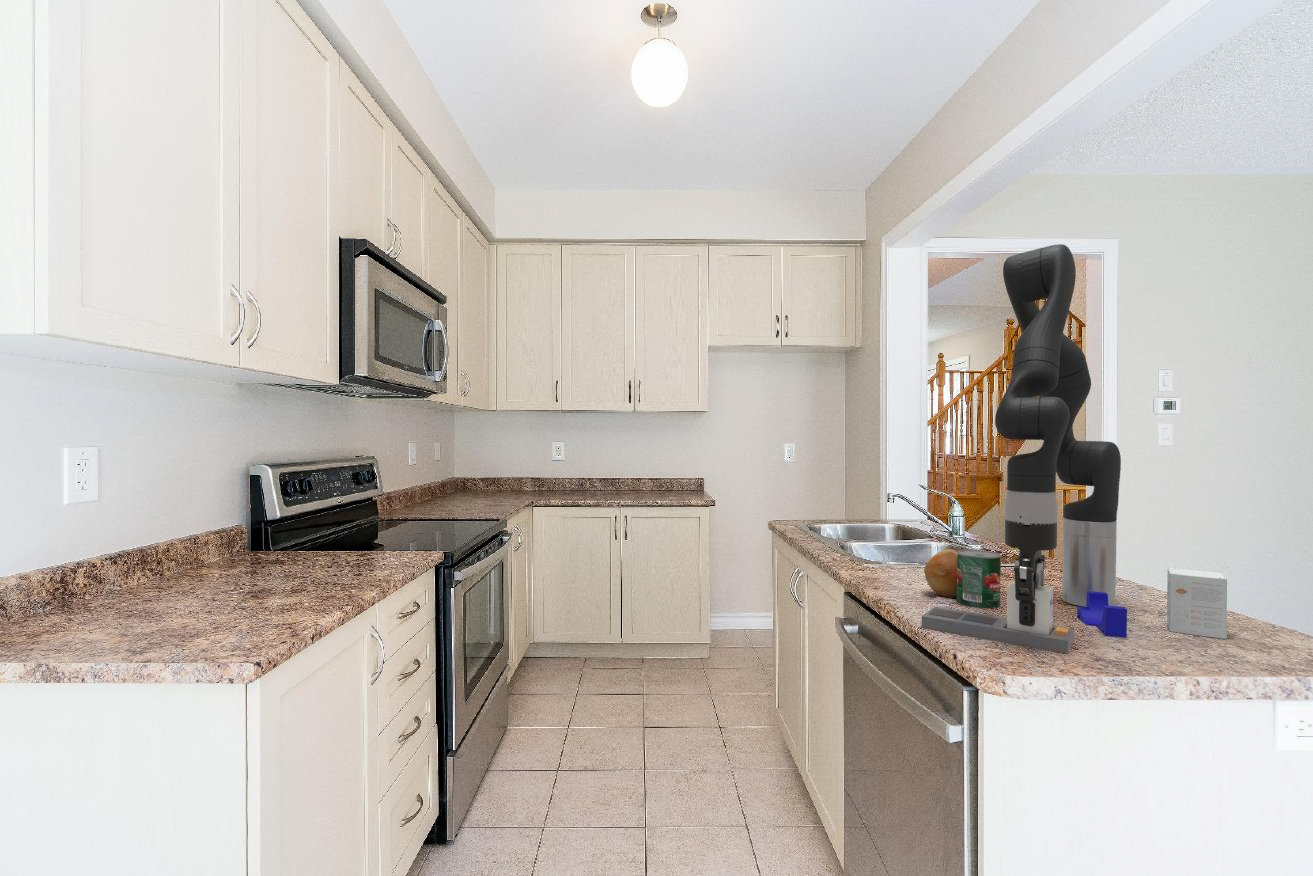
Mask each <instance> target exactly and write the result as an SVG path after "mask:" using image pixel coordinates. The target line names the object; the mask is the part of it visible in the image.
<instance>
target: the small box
mask: <svg viewBox="0 0 1313 876" xmlns="http://www.w3.org/2000/svg"><path fill="white" fill-rule="evenodd" d="M1166 577H1167V581H1166V582H1167V584H1166V585H1167V587H1166V588H1167V591H1166V596H1167V597H1166V616H1167V617H1166V622H1167V623H1166V624H1167V628H1168V631H1169V632H1171V633H1176V634H1177V633H1178V634H1184V635H1186V634H1187V635H1193V636H1201V637H1207V638H1215V639H1223V640H1227V638H1228V628H1227V627H1228V626H1227V625H1228V623H1227V622H1228V617H1227V616H1228V614H1227V613H1228V580H1227V578H1226V576H1225V575H1224V573H1222V572H1215V571H1207V570H1206V571H1205V570H1204V571H1203V570H1194V569H1193V570H1192V569H1185V568H1184V569H1181V568H1171V567H1168V568H1167V576H1166Z"/></svg>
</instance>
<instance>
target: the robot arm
mask: <svg viewBox="0 0 1313 876" xmlns="http://www.w3.org/2000/svg"><path fill="white" fill-rule="evenodd" d="M1076 270H1077V269H1076V263H1075V259H1074V256H1073V253H1072V251H1071V249H1070V248H1069V247H1068V246H1067V245H1065V244H1062V243H1059V244H1052V245H1048V246H1044V247H1040V248H1035V249H1031V250H1028V251H1024V252H1021V253H1017V254H1014V255H1010V256H1008V257H1007V258H1006V259H1005V260H1004V262H1003V267H1002V277H1003V282H1004V287H1005V289H1006V293H1007V295H1008V300H1009V302H1010V304H1011V307H1012V309H1013V311H1014V312H1013V313H1014V314H1015V318H1016V320H1017V322H1018V325H1019V328H1020V331H1021V335H1020V336H1019V337H1018V339H1017V340H1016V343H1015V347H1014V350H1013V356H1012V366H1011V377H1010V380H1009V383H1008V386H1007V388H1006V390H1005V393H1004V395H1003V396H1002V398H1001V401H1000V403H999V404H998V407H997V410H996V413H995V418H994V425H995V429H996V430H997V433H998V434H999V436H1001V437H1002V438H1004V439H1007V440H1012V441H1014V440H1015V441H1017V440H1018V441H1019V440H1020V441H1021V440H1023V441H1025V440H1026V441H1027V440H1028V441H1030V440H1031V441H1040V440H1041V441H1043V443H1042V445H1041V447H1039V449H1037V450H1035V451H1033V452H1027V453H1022V454H1021V453H1020V454H1016V455H1012V456H1010V457H1009V459H1008V460H1007V465H1006V471H1007V472H1006V475H1007V477H1006V480H1007V481H1006V484H1007V485H1006V495H1005V496H1006V497H1005V504H1004V505H1005V506H1004V517H1005V518H1004V543H1005V545H1006V546H1008V547H1009V548H1014V549H1018V550H1019V552H1018V553H1019V554H1018V556H1017V558H1015V559H1014V567H1013V571H1014V572H1013V573H1014V582H1015V592H1016V594H1015V598H1016V600H1018V601H1019V623H1020V624H1021V625H1025V626H1031V627H1032V626H1034V625H1035V603H1036V600H1037V599H1036V590H1038V589H1039V588H1040V586H1045V584H1044V582H1045V578H1046V577H1045V569H1046V565H1047V562H1046V560H1047V559H1046V556H1045V555H1044V554H1042V552H1043V551H1046V552H1047V551H1052V550H1055V549H1056V548H1057V547H1058V502H1057V501H1058V500H1057V494H1056V493H1057V492H1056V491H1057V490H1056V489H1057V486H1056V485H1057V482H1056V481H1057V480H1056V479H1057V477H1058V479H1059V481H1061V482H1062V483H1064V484H1066V485H1070V486H1071V485H1072V486H1085V487H1093V491H1092V493H1091V495H1089V496H1087V497H1086V498H1084V499H1081V500H1077V501H1073V502H1068V503H1066V504H1065V505H1063V512H1062V514H1063V515H1062V517H1063V521H1062V525H1063V527H1062V529H1063V530H1062V531H1063V533H1062V538H1063V539H1062V581H1061V583H1062V585H1061V586H1062V587H1061V589H1062V590H1061V591H1062V592H1061V594H1062V595H1061V596H1062V597H1061V599H1062V601H1063V602H1065V603H1068V604H1071V605H1075V606H1077V607H1086V603H1087V591H1092V592H1106V593H1107V594H1108V605H1109V606H1116V595H1117V594H1116V591H1117V590H1116V588H1117V586H1116V585H1117V538H1118V537H1117V536H1118V535H1117V533H1118V532H1117V527H1118V526H1117V524H1118V523H1117V519H1118V518H1117V517H1118V515H1117V514H1118V508H1119V497H1120V496H1119V493H1120V480H1121V470H1122V469H1121V467H1122V460H1121V459H1122V457H1121V452H1120V448H1119V447H1118V445H1117V444H1116V443H1115V442H1112V441H1103V440H1102V441H1101V440H1100V441H1099V440H1098V441H1097V440H1077V439H1076V438H1075V435H1074V422H1075V420H1076V418H1077V415H1078V414H1079V412H1080V410H1081V409H1082V407H1083V405H1084V403H1085V402H1086V399H1087V398H1088V396H1089V395H1090V391H1091V387H1092V380H1091V376H1090V375H1091V374H1090V370H1089V367H1088V362H1087V360H1086V359H1087V358H1086V355H1085V354H1084V352H1083V349H1081V348H1080V346H1079V345H1078V344H1077V343H1075V342H1074V341H1073V340H1072V339H1070V338H1069V337H1068V336H1067V335H1066V334H1064V330H1065V328H1066V327H1065V326H1066V323H1067V319H1068V316H1069V311H1070V307H1071V305H1072V304H1071V303H1072V299H1073V295H1074V290H1075V285H1076V277H1077V275H1076V273H1077V271H1076ZM1045 299H1046V300H1045ZM1040 300H1045V302H1044V304H1043V306H1041V309H1040V308H1039V306H1038V305H1037V303H1036V301H1040ZM1056 475H1057V476H1056ZM1023 588H1025V589H1029V594H1027V593H1022V589H1023Z"/></svg>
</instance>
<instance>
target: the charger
mask: <svg viewBox="0 0 1313 876" xmlns="http://www.w3.org/2000/svg"><path fill="white" fill-rule="evenodd" d="M1006 588H1007V589H1006V618H1007V628H1008V629H1014V630H1020V631H1026V632H1032V633H1038V634H1044V635H1051V633H1052V630H1053V624H1054V618H1053V617H1054V616H1053V615H1054V608H1053V607H1054V601H1053V600H1054V587H1053V586H1048V585H1044V586H1040V588H1039V589H1038V590H1036V599H1037V600H1036V603H1035V625H1034V626H1032V627H1031V626H1025V625H1021V624H1020V623H1019V601H1018V600H1016V598H1015V594H1016V592H1015V581H1012V582H1010V583H1009V584H1008V586H1007V587H1006ZM1022 593H1027V594H1029V589H1025V588H1023V589H1022Z"/></svg>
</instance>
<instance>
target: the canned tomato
mask: <svg viewBox="0 0 1313 876" xmlns="http://www.w3.org/2000/svg"><path fill="white" fill-rule="evenodd" d="M957 554H958V556H957V597H956V602H957V603H958V604H959V605H963V606H964V607H965V606H966V607H969V608H970V607H971V608H977V609H995V608H996V609H997V608H999V607H1000V606H1001V585H1002V584H1001V573H1002V572H1001V568H1002V567H1001V566H1002V562H1001V558H1002V555H1001V554H1000V553H998V552H996V551H995V552H994V551H990V550H983V549H980V550H979V549H962V550H958V551H957Z"/></svg>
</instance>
